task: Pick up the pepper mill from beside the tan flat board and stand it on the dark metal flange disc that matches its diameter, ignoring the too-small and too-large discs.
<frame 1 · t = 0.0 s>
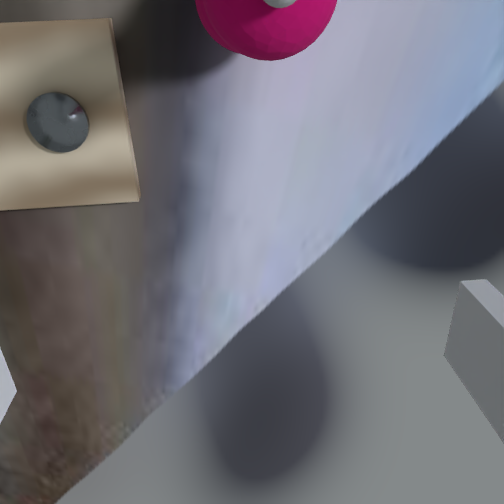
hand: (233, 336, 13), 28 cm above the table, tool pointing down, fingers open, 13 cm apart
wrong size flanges: (2, 121, 36), resting on tan flat board
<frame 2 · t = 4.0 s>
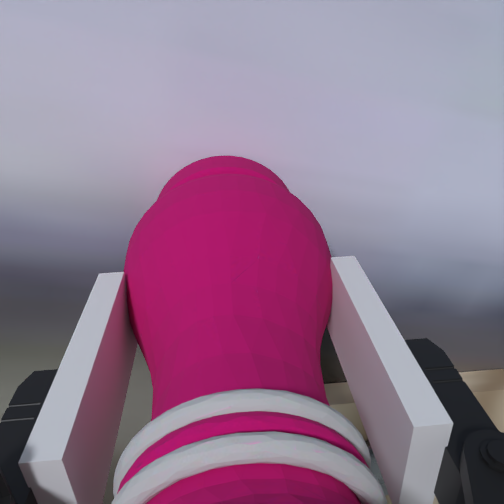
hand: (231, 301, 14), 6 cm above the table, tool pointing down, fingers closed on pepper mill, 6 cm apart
pepper mill: (225, 222, 20), on the table, touching gripper
when the fingers open (9 cm above the table, at t = 12.5 s): pepper mill drops 1 cm, resting on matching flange.
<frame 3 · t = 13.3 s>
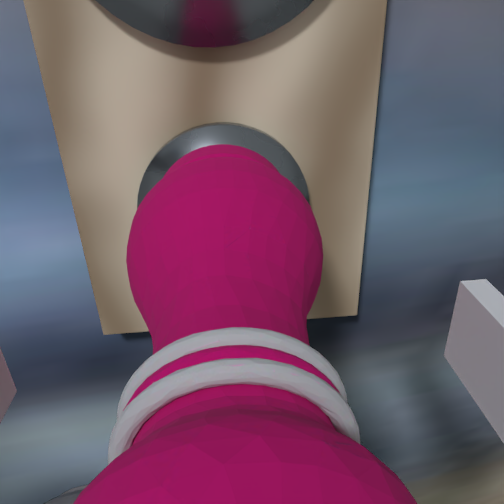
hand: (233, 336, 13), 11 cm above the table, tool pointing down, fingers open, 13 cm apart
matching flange: (223, 195, 23), resting on tan flat board
pepper mill: (223, 208, 21), point 2 cm above the table, touching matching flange
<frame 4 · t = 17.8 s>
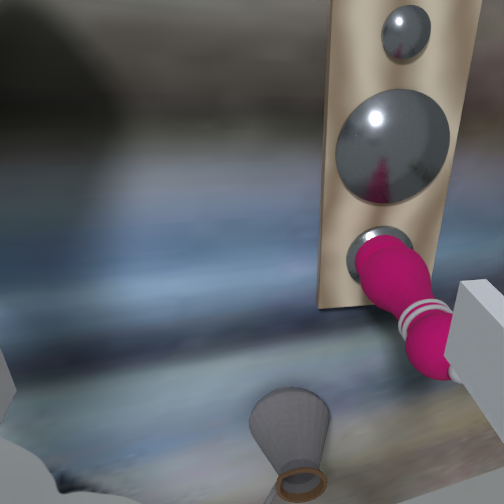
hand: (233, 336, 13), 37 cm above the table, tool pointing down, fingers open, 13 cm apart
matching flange: (374, 250, 55), resting on tan flat board
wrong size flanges: (392, 86, 46), resting on tan flat board
coffee pot: (265, 424, 68), on the table
tan flat board: (384, 162, 49), on the table
pepper mill: (379, 257, 53), point 2 cm above the table, touching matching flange
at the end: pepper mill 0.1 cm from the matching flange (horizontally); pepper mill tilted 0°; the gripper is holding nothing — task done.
